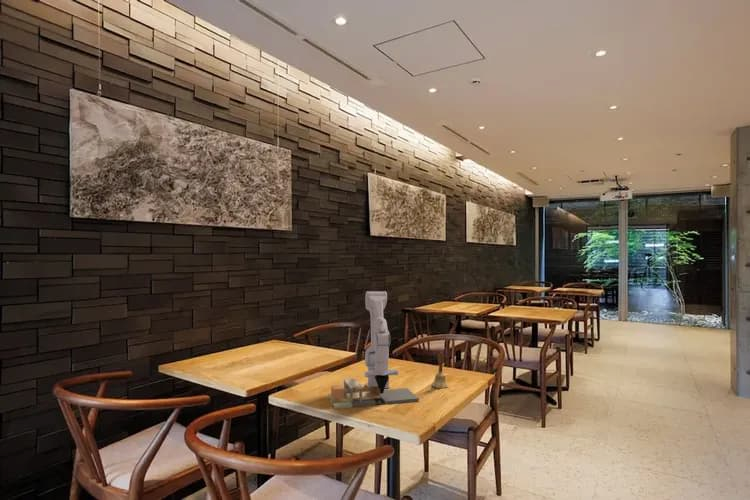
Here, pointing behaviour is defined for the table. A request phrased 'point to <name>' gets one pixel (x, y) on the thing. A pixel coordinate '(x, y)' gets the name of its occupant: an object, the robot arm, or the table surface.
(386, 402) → the board
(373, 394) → the sled
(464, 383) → the table surface
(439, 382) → the hand bell
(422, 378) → the table surface
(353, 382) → the tunnel
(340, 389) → the block
